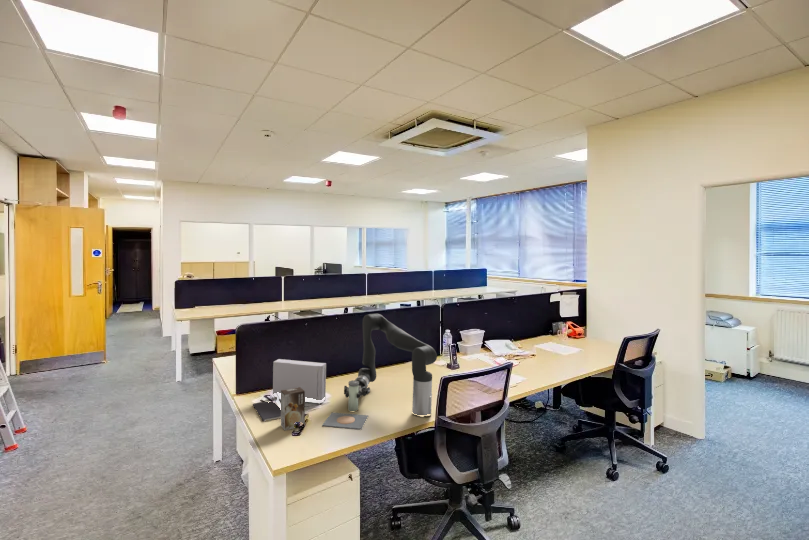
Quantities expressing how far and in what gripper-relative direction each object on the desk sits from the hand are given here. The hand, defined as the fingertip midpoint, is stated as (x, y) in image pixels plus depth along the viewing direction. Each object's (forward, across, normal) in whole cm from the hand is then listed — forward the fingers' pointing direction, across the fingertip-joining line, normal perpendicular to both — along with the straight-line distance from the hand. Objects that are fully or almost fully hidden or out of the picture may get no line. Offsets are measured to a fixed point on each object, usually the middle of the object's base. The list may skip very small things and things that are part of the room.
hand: (352, 396), depth 187 cm
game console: (-10, -31, +8) cm, 34 cm away
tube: (-3, 0, +8) cm, 8 cm away
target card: (+10, 0, +8) cm, 13 cm away
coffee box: (+19, -22, +8) cm, 30 cm away
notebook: (+6, -39, +9) cm, 40 cm away
